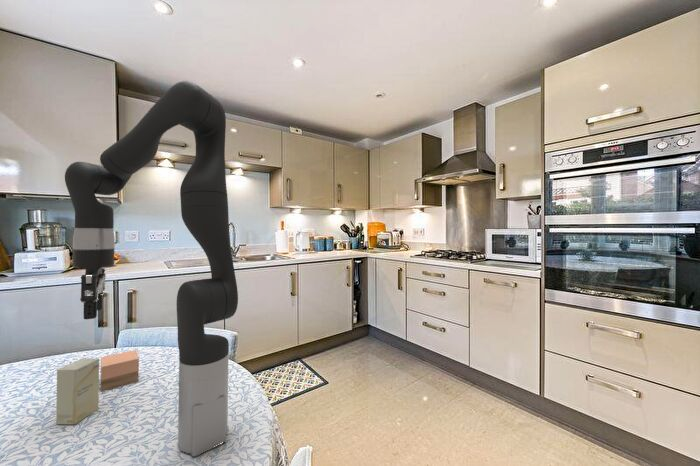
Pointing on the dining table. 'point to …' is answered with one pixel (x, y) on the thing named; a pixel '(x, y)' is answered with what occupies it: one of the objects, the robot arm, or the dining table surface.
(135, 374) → the walnut slab
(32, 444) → the dining table surface
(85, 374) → the skincare box
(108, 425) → the dining table surface
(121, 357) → the terracotta slab
